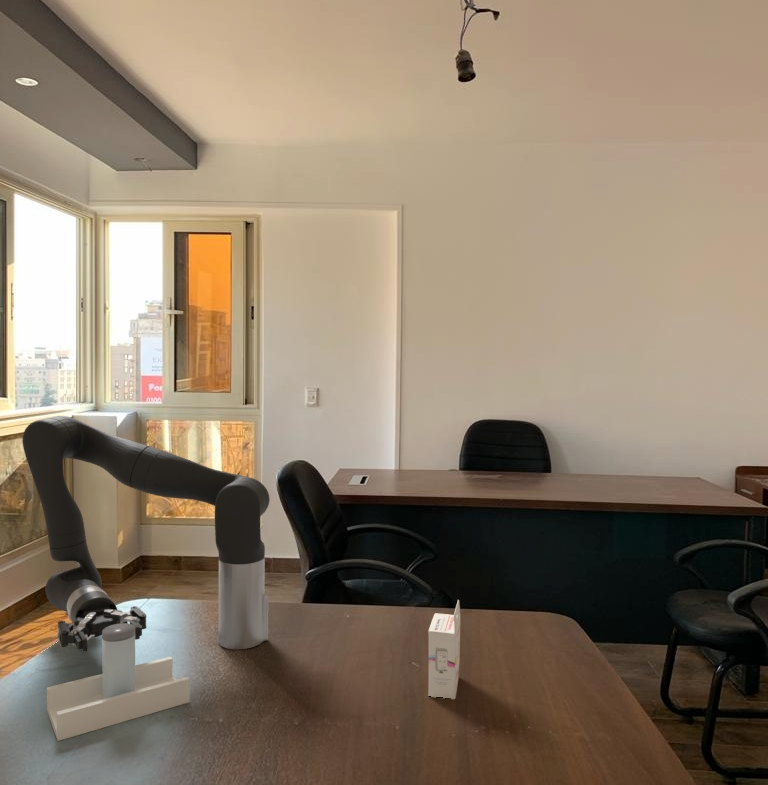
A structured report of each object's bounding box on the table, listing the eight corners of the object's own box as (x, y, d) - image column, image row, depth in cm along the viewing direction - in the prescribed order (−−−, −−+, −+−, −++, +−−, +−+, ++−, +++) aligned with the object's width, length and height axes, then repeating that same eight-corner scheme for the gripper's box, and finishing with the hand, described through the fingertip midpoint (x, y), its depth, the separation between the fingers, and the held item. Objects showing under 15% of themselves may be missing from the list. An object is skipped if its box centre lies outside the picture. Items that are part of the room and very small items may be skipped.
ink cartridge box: (432, 674, 120) (434, 596, 119) (459, 677, 119) (461, 598, 118) (426, 697, 111) (428, 613, 111) (455, 700, 110) (457, 616, 110)
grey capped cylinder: (130, 690, 110) (130, 620, 110) (138, 702, 106) (138, 631, 106) (99, 698, 107) (99, 627, 107) (106, 711, 103) (106, 638, 103)
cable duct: (170, 678, 117) (170, 656, 117) (189, 702, 109) (189, 678, 108) (47, 711, 105) (46, 687, 105) (57, 741, 97) (57, 714, 97)
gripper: (49, 598, 119) (66, 627, 106) (129, 583, 128) (154, 609, 115) (49, 638, 120) (66, 672, 107) (129, 621, 128) (154, 651, 115)
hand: (112, 639), depth 111 cm, fingers open, 8 cm apart
